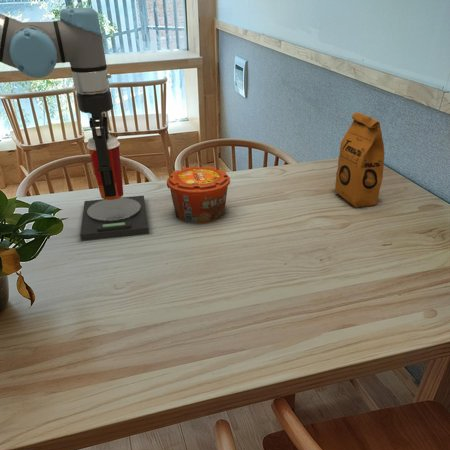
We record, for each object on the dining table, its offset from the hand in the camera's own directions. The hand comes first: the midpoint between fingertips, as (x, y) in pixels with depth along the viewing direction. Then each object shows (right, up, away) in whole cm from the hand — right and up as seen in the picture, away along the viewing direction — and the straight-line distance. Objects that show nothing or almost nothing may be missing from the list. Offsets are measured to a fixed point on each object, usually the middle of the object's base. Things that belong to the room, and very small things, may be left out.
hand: (110, 190), depth 112 cm
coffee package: (+65, 0, +13) cm, 67 cm away
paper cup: (0, -1, +1) cm, 2 cm away
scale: (0, -7, +4) cm, 8 cm away
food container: (+22, -5, +6) cm, 24 cm away
